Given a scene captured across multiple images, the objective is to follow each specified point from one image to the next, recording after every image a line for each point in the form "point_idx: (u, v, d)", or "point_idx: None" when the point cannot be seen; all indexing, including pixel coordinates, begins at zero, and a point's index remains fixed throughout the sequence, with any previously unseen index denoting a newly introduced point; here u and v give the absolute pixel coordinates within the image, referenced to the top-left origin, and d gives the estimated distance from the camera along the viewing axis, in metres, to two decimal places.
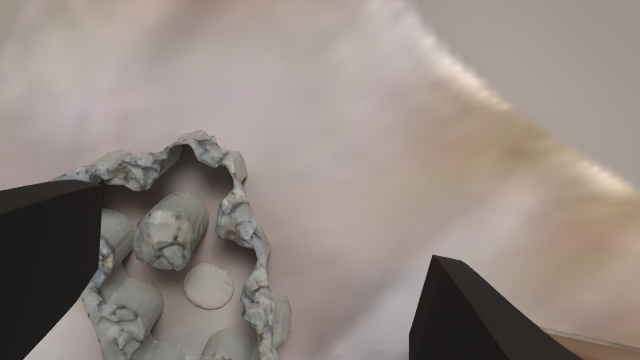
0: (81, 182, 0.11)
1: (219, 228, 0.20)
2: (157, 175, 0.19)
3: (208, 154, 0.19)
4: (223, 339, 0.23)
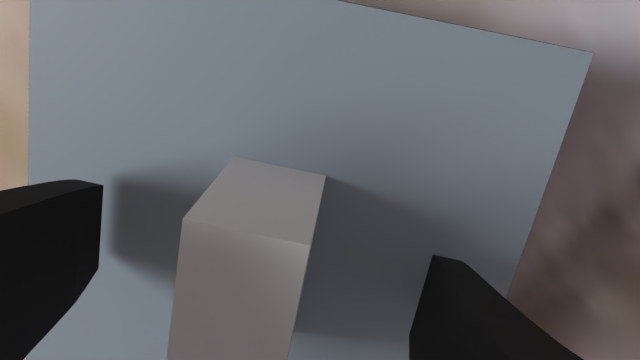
0: (81, 182, 0.11)
1: None
2: None
3: None
4: None
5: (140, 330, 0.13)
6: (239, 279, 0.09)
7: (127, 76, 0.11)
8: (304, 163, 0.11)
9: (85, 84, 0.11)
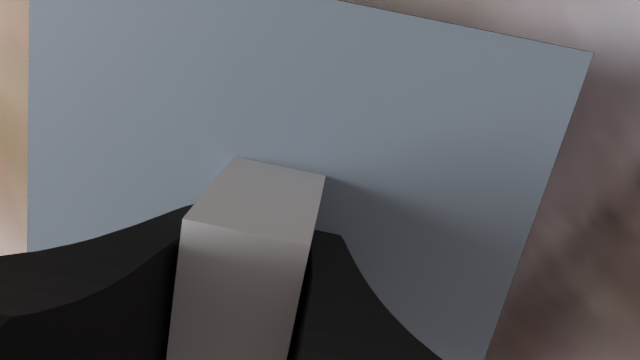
0: None
1: None
2: None
3: None
4: None
5: None
6: (238, 279, 0.09)
7: (127, 76, 0.11)
8: (304, 162, 0.11)
9: (85, 84, 0.11)
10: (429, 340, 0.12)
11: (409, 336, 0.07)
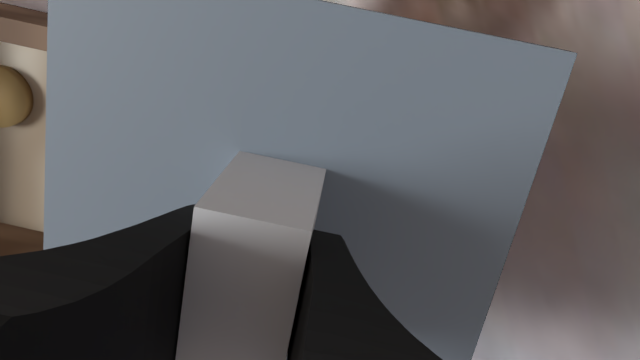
0: None
1: None
2: None
3: None
4: None
5: None
6: (245, 263, 0.09)
7: (139, 75, 0.12)
8: (306, 157, 0.12)
9: (99, 83, 0.12)
10: (424, 325, 0.13)
11: (409, 336, 0.07)
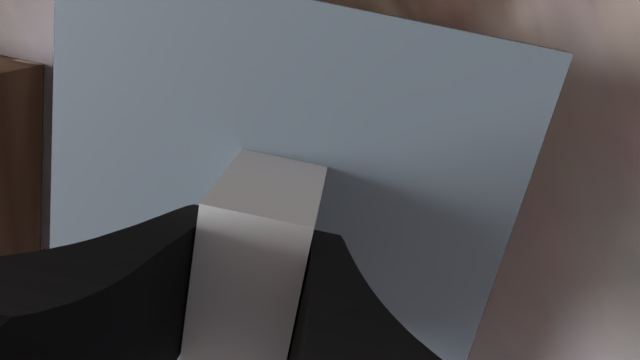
0: None
1: None
2: None
3: None
4: None
5: None
6: (249, 258, 0.09)
7: (144, 75, 0.12)
8: (308, 155, 0.12)
9: (105, 82, 0.12)
10: (423, 320, 0.13)
11: (409, 336, 0.07)
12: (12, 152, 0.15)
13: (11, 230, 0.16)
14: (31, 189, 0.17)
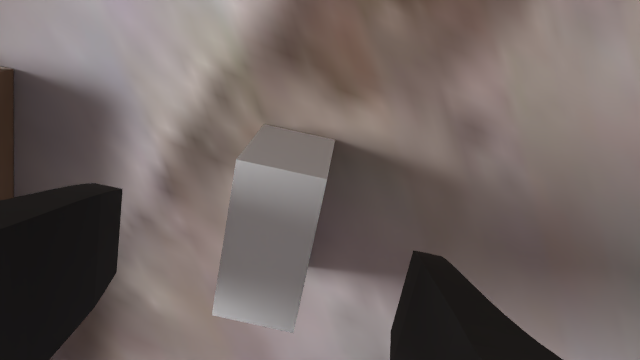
0: (100, 186, 0.11)
1: None
2: None
3: None
4: None
5: None
6: (275, 204, 0.12)
7: None
8: None
9: None
10: None
11: None
12: None
13: None
14: None
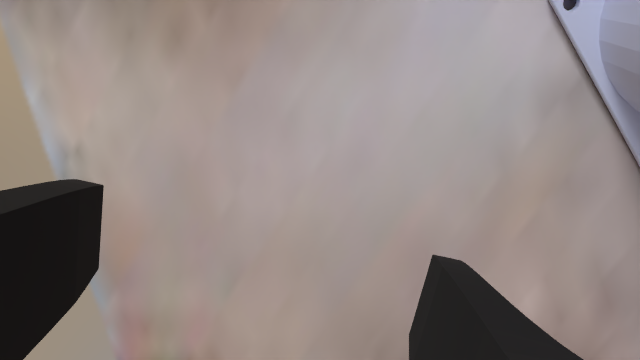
0: (81, 182, 0.11)
1: None
2: None
3: None
4: None
5: None
6: None
7: None
8: None
9: None
10: None
11: None
12: None
13: None
14: None
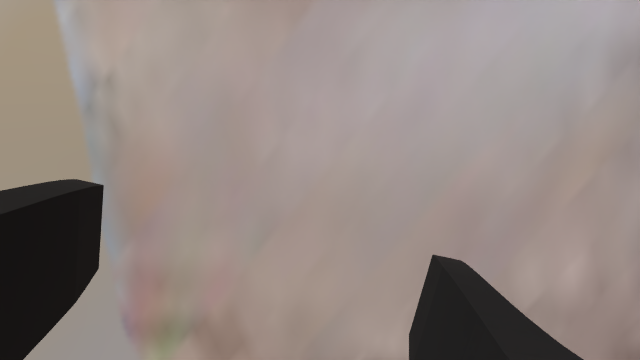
0: (81, 182, 0.11)
1: None
2: None
3: None
4: None
5: None
6: None
7: None
8: None
9: None
10: None
11: None
12: None
13: None
14: None
